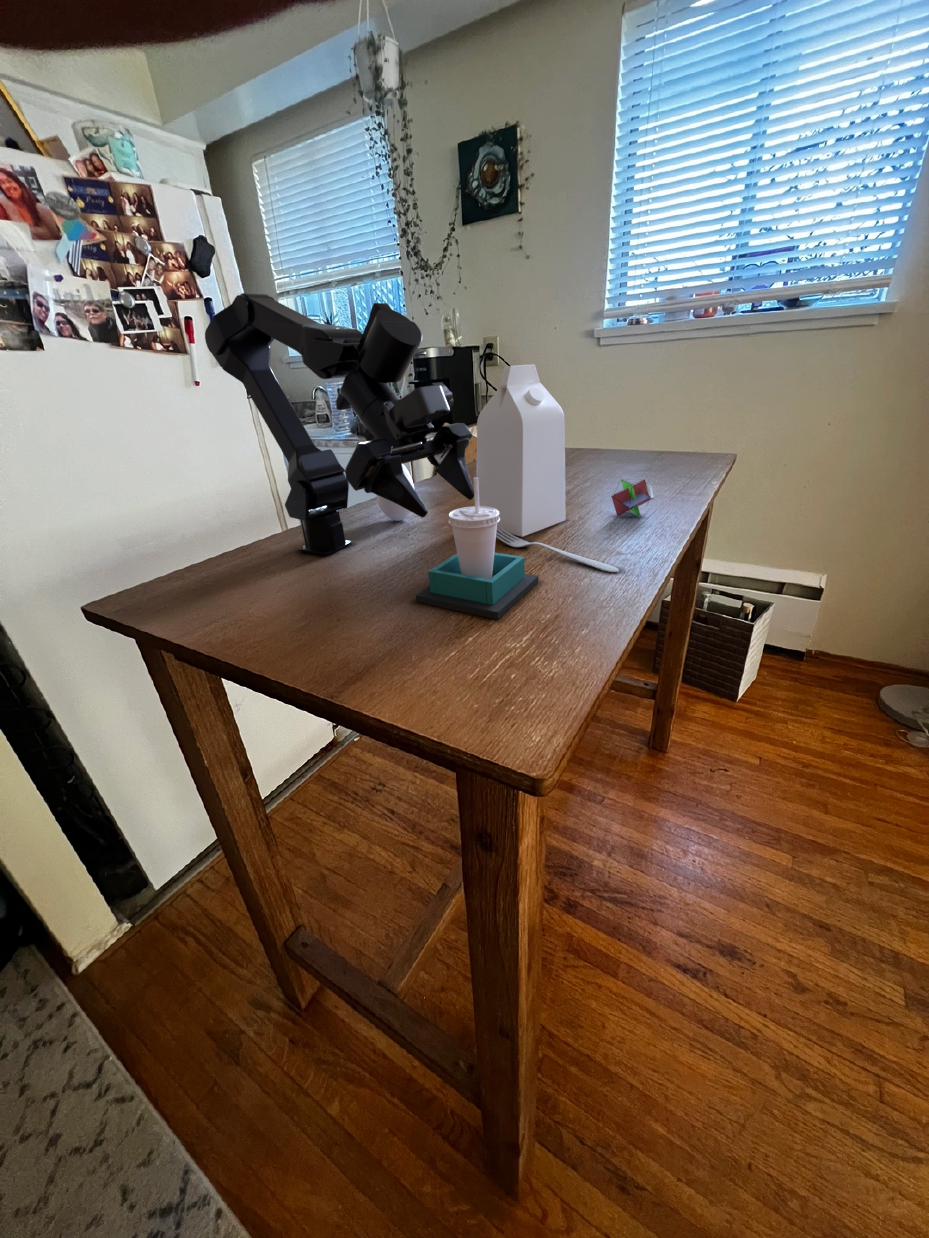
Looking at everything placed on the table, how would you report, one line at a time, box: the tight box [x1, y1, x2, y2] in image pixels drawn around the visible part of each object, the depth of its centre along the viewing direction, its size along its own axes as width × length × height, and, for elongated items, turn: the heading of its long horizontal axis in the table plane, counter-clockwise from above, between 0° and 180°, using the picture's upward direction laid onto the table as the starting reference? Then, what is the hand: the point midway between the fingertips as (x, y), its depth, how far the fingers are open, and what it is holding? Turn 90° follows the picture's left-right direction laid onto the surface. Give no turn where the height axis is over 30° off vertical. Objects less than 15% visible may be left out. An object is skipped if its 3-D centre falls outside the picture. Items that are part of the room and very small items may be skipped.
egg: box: [375, 464, 416, 522], centre depth 96 cm, size 7×7×12 cm
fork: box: [496, 526, 620, 573], centre depth 77 cm, size 3×24×2 cm, turn 43°
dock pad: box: [415, 552, 539, 621], centre depth 66 cm, size 12×12×4 cm
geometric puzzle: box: [610, 478, 655, 518], centre depth 92 cm, size 7×7×8 cm
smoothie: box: [448, 476, 500, 579], centre depth 63 cm, size 6×6×14 cm
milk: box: [475, 363, 567, 538], centre depth 87 cm, size 12×12×26 cm
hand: (450, 506), depth 64 cm, fingers open, 9 cm apart
